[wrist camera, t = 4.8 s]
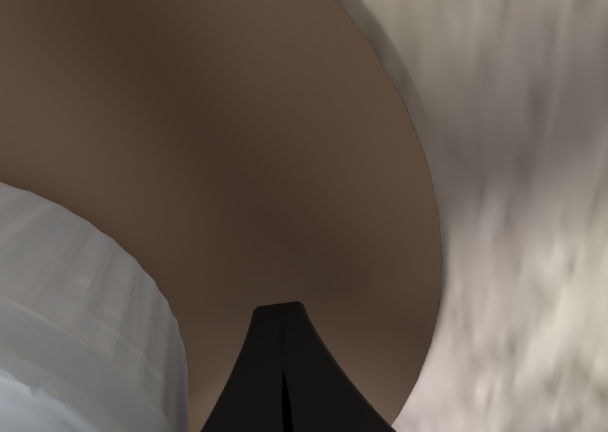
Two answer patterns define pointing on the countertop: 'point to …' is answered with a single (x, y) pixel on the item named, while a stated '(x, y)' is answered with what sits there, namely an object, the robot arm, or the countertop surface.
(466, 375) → the countertop surface
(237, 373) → the robot arm
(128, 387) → the ramekin
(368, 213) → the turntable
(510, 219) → the countertop surface
